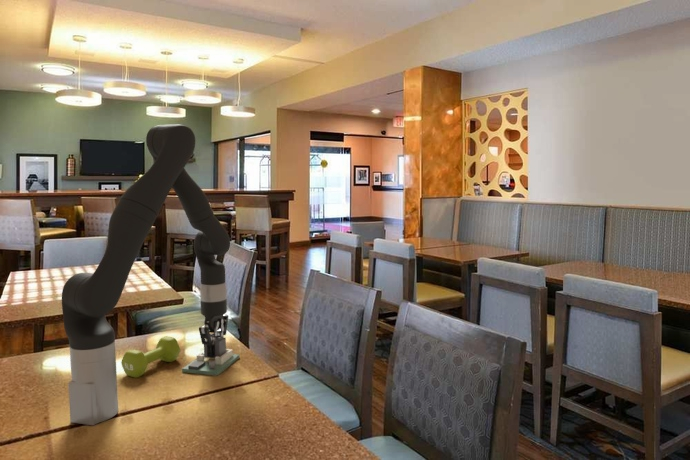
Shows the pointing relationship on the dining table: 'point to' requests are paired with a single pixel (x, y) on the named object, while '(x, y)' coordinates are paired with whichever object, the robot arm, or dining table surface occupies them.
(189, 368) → the board
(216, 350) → the plug
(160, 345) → the dumbbell
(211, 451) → the dining table surface
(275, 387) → the dining table surface
